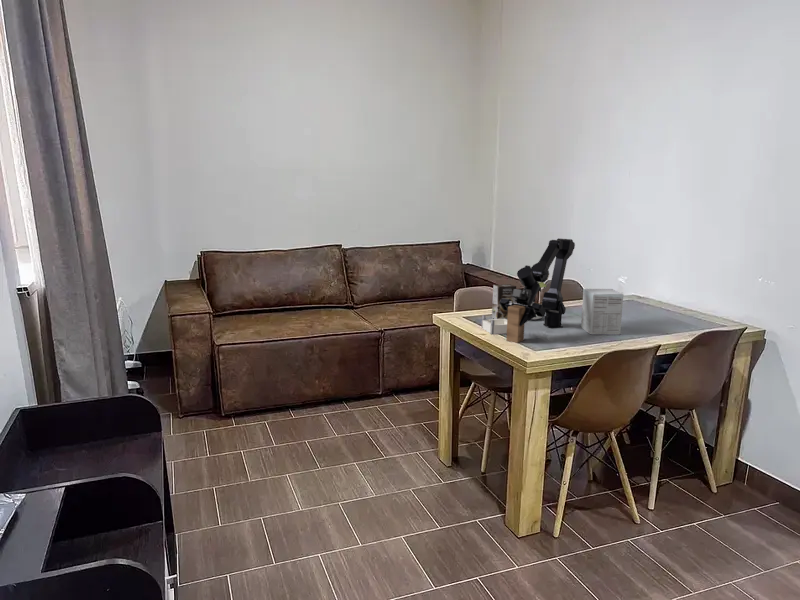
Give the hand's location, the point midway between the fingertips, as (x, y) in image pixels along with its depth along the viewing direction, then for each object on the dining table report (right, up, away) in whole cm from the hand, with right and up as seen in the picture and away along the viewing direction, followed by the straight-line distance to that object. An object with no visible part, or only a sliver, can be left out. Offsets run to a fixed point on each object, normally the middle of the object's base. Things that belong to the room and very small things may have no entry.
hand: (513, 324), depth 240 cm
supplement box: (+41, -4, +19) cm, 45 cm away
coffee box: (+3, 0, +40) cm, 40 cm away
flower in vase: (+17, +1, +42) cm, 45 cm away
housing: (-3, -4, +19) cm, 19 cm away
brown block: (+1, -7, +2) cm, 7 cm away
